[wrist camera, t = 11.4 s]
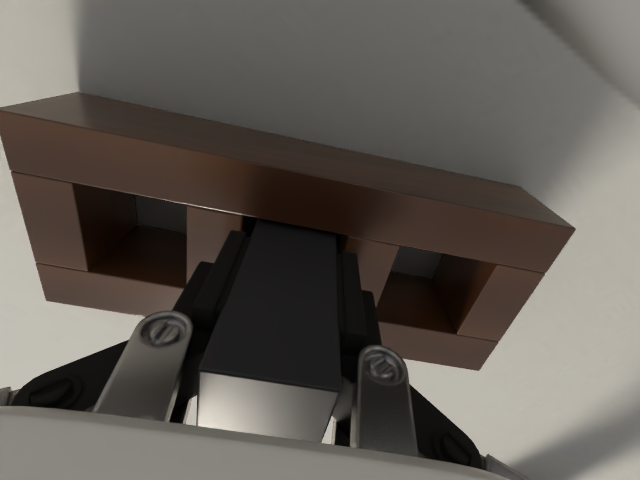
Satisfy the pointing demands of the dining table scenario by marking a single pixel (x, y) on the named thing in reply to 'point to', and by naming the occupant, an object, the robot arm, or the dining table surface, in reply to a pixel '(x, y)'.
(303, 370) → the peg
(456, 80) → the dining table surface
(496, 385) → the dining table surface
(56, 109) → the holder
